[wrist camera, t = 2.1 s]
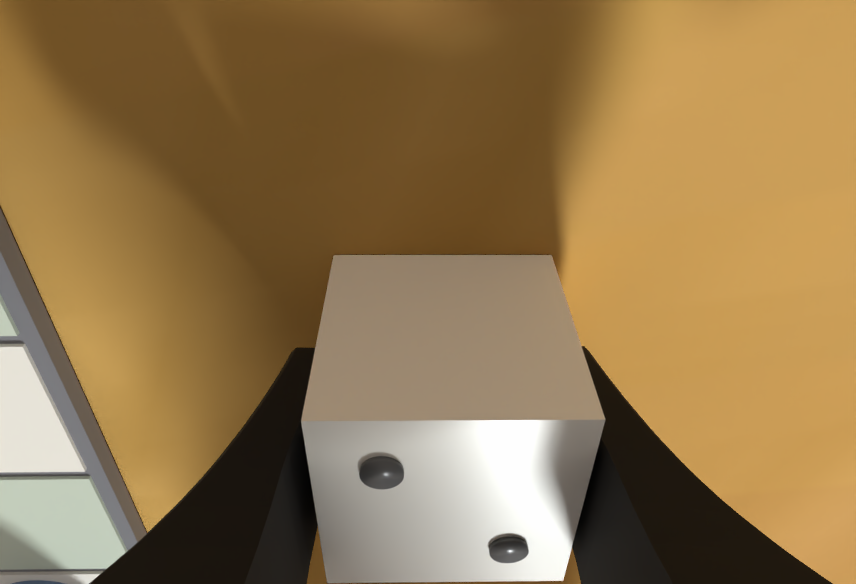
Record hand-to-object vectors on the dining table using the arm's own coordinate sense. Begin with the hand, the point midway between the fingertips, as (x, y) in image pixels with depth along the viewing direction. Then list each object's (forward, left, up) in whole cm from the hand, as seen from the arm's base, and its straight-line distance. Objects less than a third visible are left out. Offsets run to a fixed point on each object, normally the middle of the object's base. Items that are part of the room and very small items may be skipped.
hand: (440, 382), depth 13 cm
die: (0, 0, -1) cm, 1 cm away
